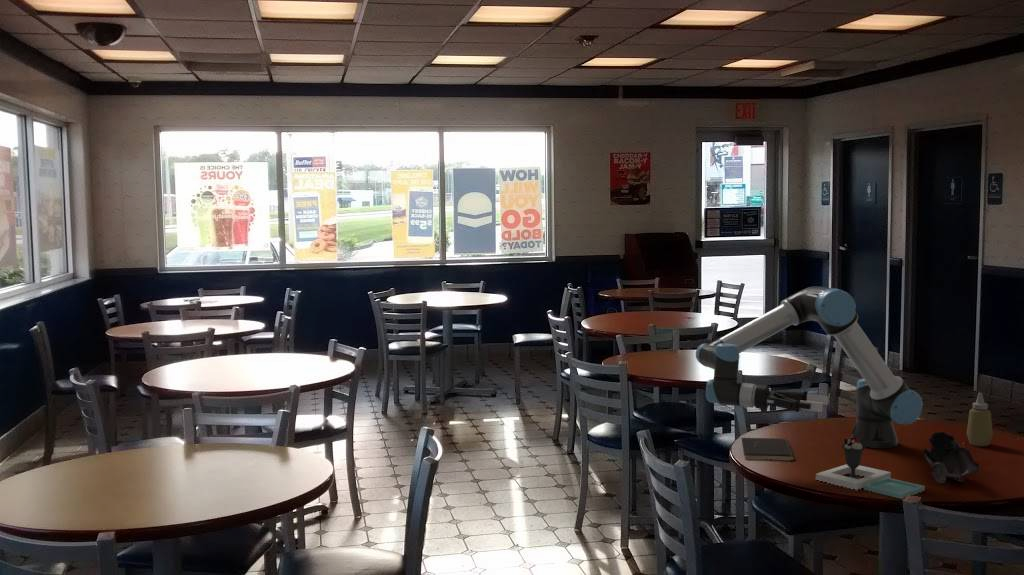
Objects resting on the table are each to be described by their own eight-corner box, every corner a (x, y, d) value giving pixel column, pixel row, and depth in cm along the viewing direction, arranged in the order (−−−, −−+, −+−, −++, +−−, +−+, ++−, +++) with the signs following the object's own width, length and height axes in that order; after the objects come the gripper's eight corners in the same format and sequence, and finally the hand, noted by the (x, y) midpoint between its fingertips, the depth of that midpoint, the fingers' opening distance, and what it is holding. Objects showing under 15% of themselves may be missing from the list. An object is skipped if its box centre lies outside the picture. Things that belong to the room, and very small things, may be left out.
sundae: (866, 483, 283) (867, 433, 282) (843, 482, 285) (843, 433, 284) (863, 476, 290) (863, 428, 289) (840, 476, 291) (840, 428, 290)
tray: (886, 481, 284) (886, 477, 284) (924, 490, 274) (924, 486, 274) (863, 489, 277) (863, 485, 277) (902, 499, 267) (902, 494, 267)
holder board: (849, 469, 298) (849, 463, 298) (890, 478, 287) (890, 472, 287) (815, 480, 287) (815, 473, 287) (857, 490, 276) (857, 483, 276)
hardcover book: (744, 460, 313) (744, 454, 313) (741, 444, 336) (741, 437, 335) (794, 462, 310) (794, 455, 310) (788, 445, 332) (788, 438, 332)
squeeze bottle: (967, 446, 322) (968, 394, 321) (965, 441, 330) (966, 390, 328) (993, 448, 319) (994, 396, 318) (991, 442, 327) (992, 391, 325)
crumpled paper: (985, 486, 275) (960, 470, 295) (980, 436, 275) (955, 424, 295) (936, 490, 277) (914, 474, 297) (931, 440, 276) (909, 428, 296)
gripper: (762, 401, 310) (830, 409, 301) (746, 414, 288) (819, 423, 279) (763, 379, 310) (831, 386, 301) (747, 390, 287) (820, 398, 278)
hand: (825, 403), depth 290 cm, fingers open, 13 cm apart
